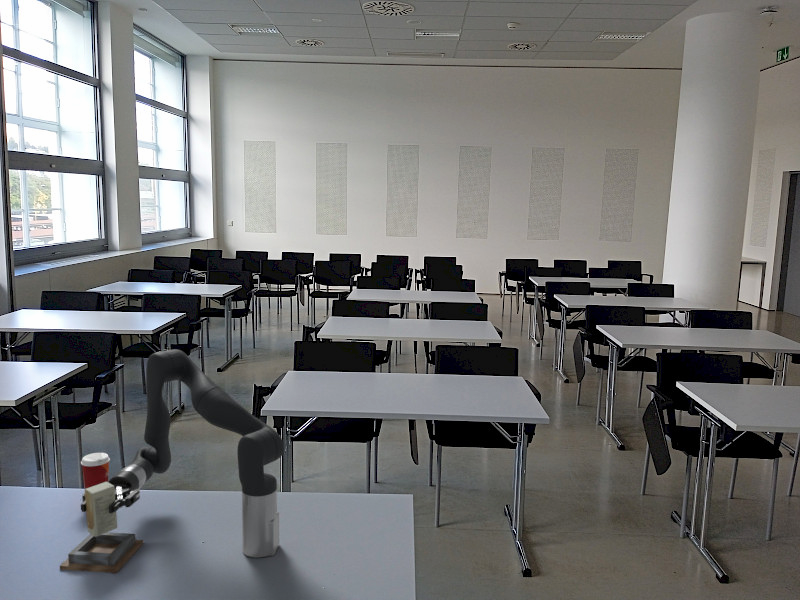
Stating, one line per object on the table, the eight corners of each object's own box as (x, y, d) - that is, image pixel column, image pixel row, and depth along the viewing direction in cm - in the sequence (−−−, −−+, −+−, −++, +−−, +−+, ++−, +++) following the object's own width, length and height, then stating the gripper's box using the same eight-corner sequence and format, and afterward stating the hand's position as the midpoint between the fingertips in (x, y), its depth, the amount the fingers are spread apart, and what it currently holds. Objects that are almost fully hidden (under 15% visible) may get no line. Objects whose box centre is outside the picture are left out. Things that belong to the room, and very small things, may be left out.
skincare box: (109, 523, 180) (107, 480, 178) (118, 528, 177) (115, 485, 175) (86, 532, 175) (83, 488, 173) (94, 537, 172) (91, 493, 170)
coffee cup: (116, 502, 208) (114, 456, 206) (89, 511, 202) (87, 464, 200) (104, 494, 213) (102, 449, 211) (78, 502, 207) (75, 456, 205)
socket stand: (143, 543, 184) (143, 531, 183) (116, 573, 169) (116, 560, 168) (91, 540, 185) (90, 528, 184) (59, 569, 170) (59, 556, 169)
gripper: (102, 468, 189) (69, 494, 172) (151, 471, 188) (122, 497, 171) (103, 493, 190) (70, 521, 174) (152, 496, 189) (123, 524, 173)
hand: (96, 509), depth 173 cm, fingers closed on skincare box, 7 cm apart
